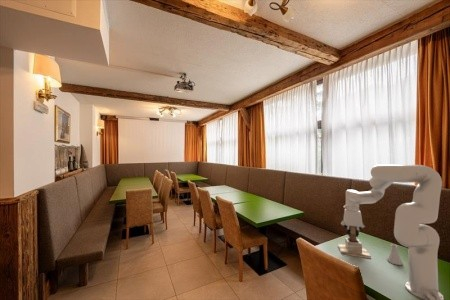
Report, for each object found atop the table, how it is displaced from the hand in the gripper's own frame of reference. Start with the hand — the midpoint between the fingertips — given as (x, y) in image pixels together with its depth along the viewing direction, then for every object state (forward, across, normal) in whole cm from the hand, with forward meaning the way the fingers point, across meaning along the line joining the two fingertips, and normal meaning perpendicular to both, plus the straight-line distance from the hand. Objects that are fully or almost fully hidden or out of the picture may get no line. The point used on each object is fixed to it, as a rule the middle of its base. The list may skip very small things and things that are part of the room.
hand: (352, 235), depth 129 cm
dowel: (+4, 0, 0) cm, 4 cm away
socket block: (+11, 0, 0) cm, 11 cm away
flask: (+11, +20, -6) cm, 24 cm away
